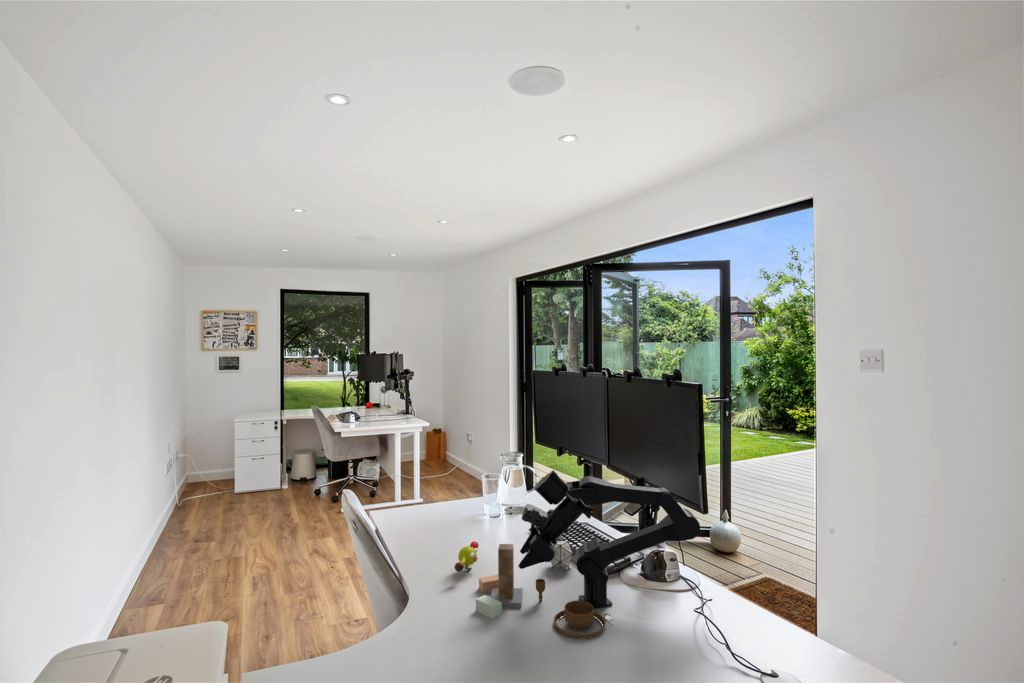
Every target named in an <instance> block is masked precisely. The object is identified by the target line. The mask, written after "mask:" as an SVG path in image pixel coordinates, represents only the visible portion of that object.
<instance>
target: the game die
mask: <svg viewBox="0 0 1024 683" xmlns="http://www.w3.org/2000/svg"><path fill="white" fill-rule="evenodd" d="M570 540H571V539H570V538H568V539H567V540H557V543H556V544H555V545H554V544H553V543H552V542H551V544H552V545H553V546H554V551H555V557H554V558H553V559H552V560H551V561H550V563H551V565H552V566H551V570H553V569H554V568H567V570H569V571H570V570H571V568H570V563H571V562H572V559H573V556H575V555H576V553H573V551H572V548H571V546H570Z"/></svg>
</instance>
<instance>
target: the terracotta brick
mask: <svg viewBox="0 0 1024 683" xmlns="http://www.w3.org/2000/svg"><path fill="white" fill-rule="evenodd" d="M492 588H498V574H494V575H493V574H492V575H488V576H482V577H479V578H478V589H479V590H480V592H481V593H482V594H486V592H487V593H491V591H492Z"/></svg>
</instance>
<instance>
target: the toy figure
mask: <svg viewBox="0 0 1024 683" xmlns="http://www.w3.org/2000/svg"><path fill="white" fill-rule="evenodd" d="M478 549H479V543H478V542H477V541H472V542H470V544H469V546H468V545H467V546H463V547H462V548H460V550H459V552H458V560H459V561H458V562H456V563H455V564H454V570H455V571H456V572H462V571H463V570H464V572H465V571H467V572H466V573H468V571H469V572H471V570H472V567H470V566H471V565H473V564H474V563H475V562H477V561H478V556H477V553H478ZM468 569H470V570H468Z"/></svg>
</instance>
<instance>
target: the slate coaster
mask: <svg viewBox="0 0 1024 683" xmlns="http://www.w3.org/2000/svg"><path fill="white" fill-rule="evenodd" d="M523 590H524V589H523V588H522V587H521V588H520V587H518V588H517V587H514V594H513V599H503V598H499V588H492V591H491V592H490V596H489V597H490V598H493V599H495V600H497V601H499V602H502V608H505V609H506V608H508V609H509V608H510V609H513V608H515V609H522V605H523V604H522V603H523V593H524V592H523Z"/></svg>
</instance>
